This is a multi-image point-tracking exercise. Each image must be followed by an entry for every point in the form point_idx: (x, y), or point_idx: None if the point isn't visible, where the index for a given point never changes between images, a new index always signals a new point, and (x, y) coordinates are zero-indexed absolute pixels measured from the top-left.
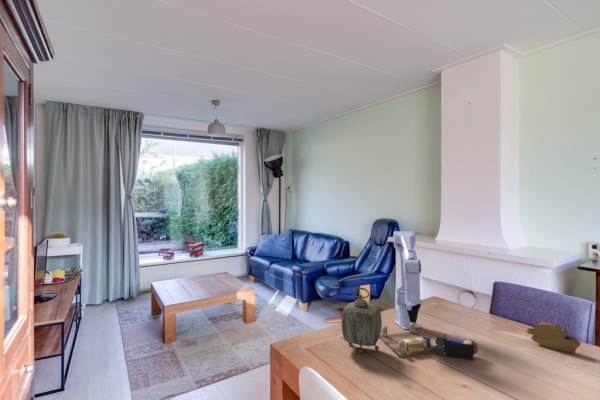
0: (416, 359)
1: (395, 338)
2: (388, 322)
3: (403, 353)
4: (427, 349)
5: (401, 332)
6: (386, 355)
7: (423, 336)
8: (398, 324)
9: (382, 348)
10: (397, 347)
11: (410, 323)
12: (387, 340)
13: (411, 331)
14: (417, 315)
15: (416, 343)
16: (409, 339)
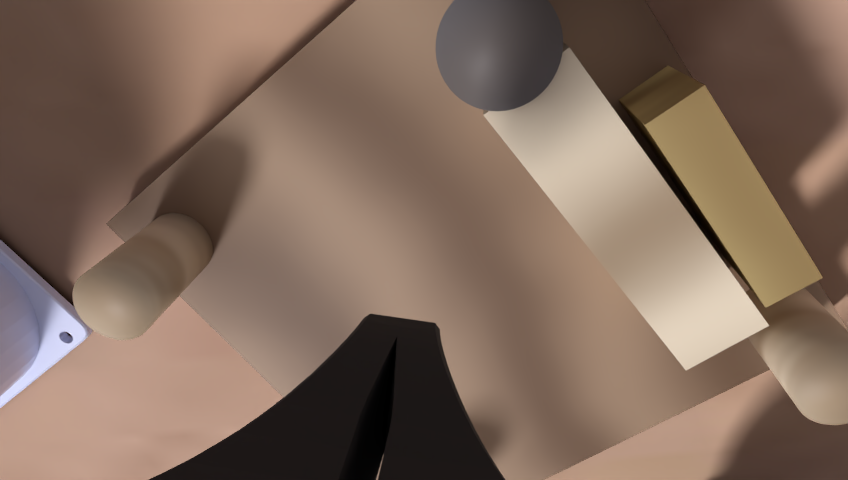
0: (842, 131)
1: None
2: (15, 474)
3: (814, 289)
4: (623, 14)
5: (244, 356)
6: (801, 421)
7: (485, 102)
8: (16, 394)
9: (651, 465)
10: (667, 360)
11: (125, 328)
12: (522, 461)
13: (199, 264)
14: (321, 378)
15: (764, 185)
16: (648, 289)
